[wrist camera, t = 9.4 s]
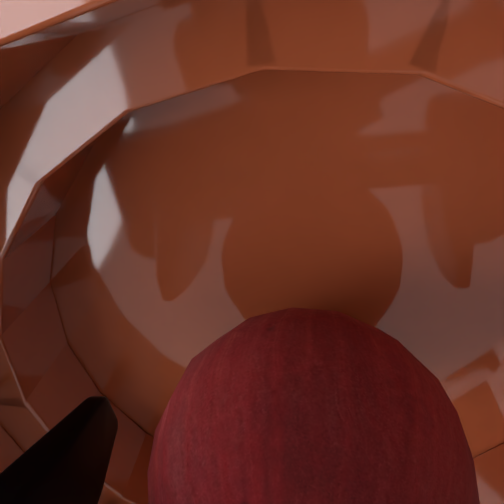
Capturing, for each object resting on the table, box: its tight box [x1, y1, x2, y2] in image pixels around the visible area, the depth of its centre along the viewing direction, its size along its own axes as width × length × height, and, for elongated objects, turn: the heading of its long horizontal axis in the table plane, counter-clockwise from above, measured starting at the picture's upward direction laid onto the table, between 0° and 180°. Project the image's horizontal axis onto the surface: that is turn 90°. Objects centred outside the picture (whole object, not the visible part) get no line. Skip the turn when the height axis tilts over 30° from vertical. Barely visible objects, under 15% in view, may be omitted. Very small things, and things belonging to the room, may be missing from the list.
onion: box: [147, 307, 480, 504], centre depth 8 cm, size 6×6×8 cm
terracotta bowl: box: [0, 0, 504, 504], centre depth 10 cm, size 17×17×5 cm
